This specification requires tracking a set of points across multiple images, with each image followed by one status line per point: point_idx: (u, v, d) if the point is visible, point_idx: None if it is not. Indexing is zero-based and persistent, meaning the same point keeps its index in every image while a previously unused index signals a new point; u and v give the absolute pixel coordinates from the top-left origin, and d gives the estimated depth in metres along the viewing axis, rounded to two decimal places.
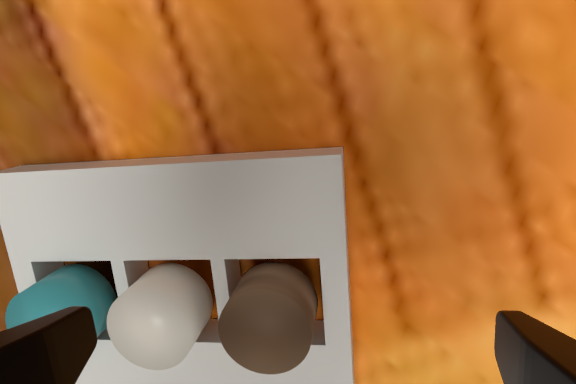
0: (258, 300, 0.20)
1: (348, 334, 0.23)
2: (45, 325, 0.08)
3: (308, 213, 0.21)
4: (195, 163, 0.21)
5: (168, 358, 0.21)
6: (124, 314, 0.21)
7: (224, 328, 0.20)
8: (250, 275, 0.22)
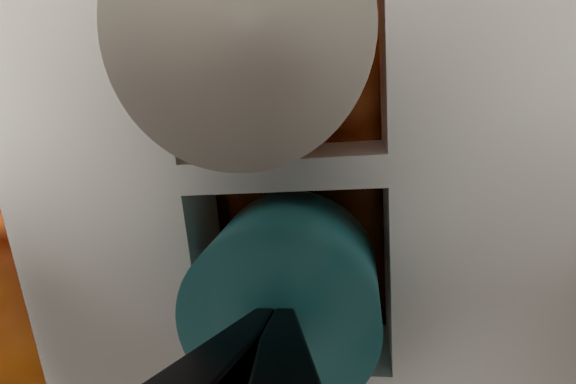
0: None
1: None
2: (257, 329, 0.08)
3: None
4: None
5: None
6: (185, 110, 0.07)
7: None
8: None
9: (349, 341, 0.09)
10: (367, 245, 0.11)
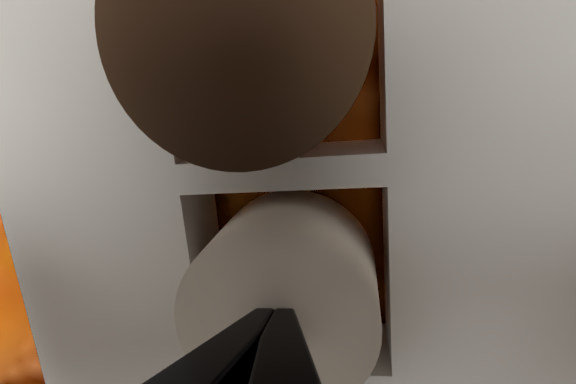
0: (127, 47, 0.07)
1: None
2: (257, 329, 0.08)
3: None
4: (0, 205, 0.12)
5: (345, 293, 0.09)
6: None
7: (228, 153, 0.07)
8: None
9: None
10: None
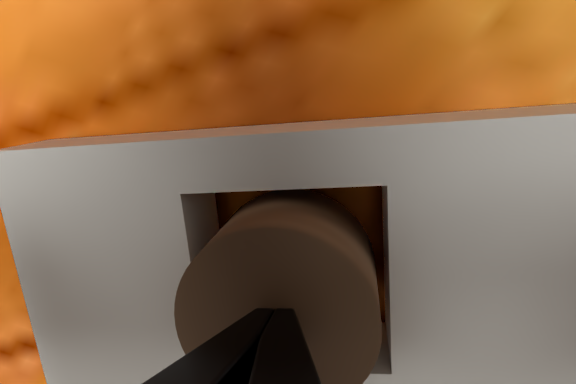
0: (198, 329, 0.09)
1: (354, 132, 0.10)
2: (257, 329, 0.08)
3: (97, 213, 0.11)
4: None
5: None
6: None
7: None
8: None
9: None
10: None
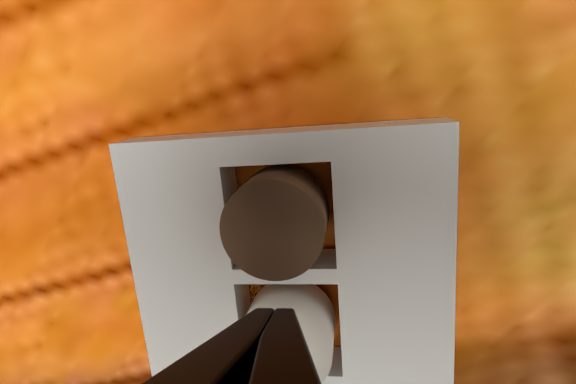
0: (231, 235, 0.18)
1: (312, 133, 0.18)
2: (257, 329, 0.08)
3: (171, 178, 0.20)
4: (136, 285, 0.22)
5: (315, 338, 0.19)
6: None
7: (269, 274, 0.18)
8: None
9: None
10: None
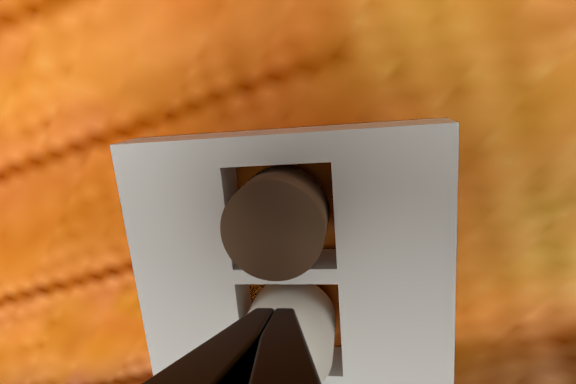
0: (232, 235, 0.18)
1: (313, 134, 0.18)
2: (257, 329, 0.08)
3: (172, 179, 0.20)
4: (137, 285, 0.22)
5: (315, 338, 0.19)
6: None
7: (270, 274, 0.18)
8: None
9: None
10: None
